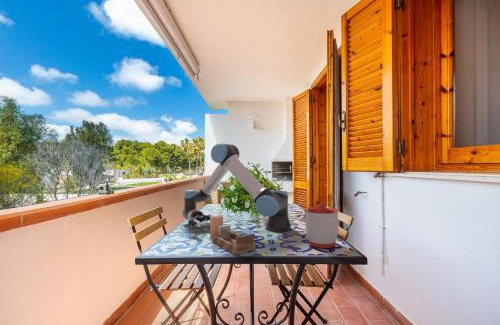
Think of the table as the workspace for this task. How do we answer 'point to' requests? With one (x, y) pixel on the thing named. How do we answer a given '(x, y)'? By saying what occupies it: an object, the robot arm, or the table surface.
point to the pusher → (224, 232)
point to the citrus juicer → (321, 226)
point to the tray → (236, 243)
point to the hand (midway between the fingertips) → (211, 222)
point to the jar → (215, 224)
